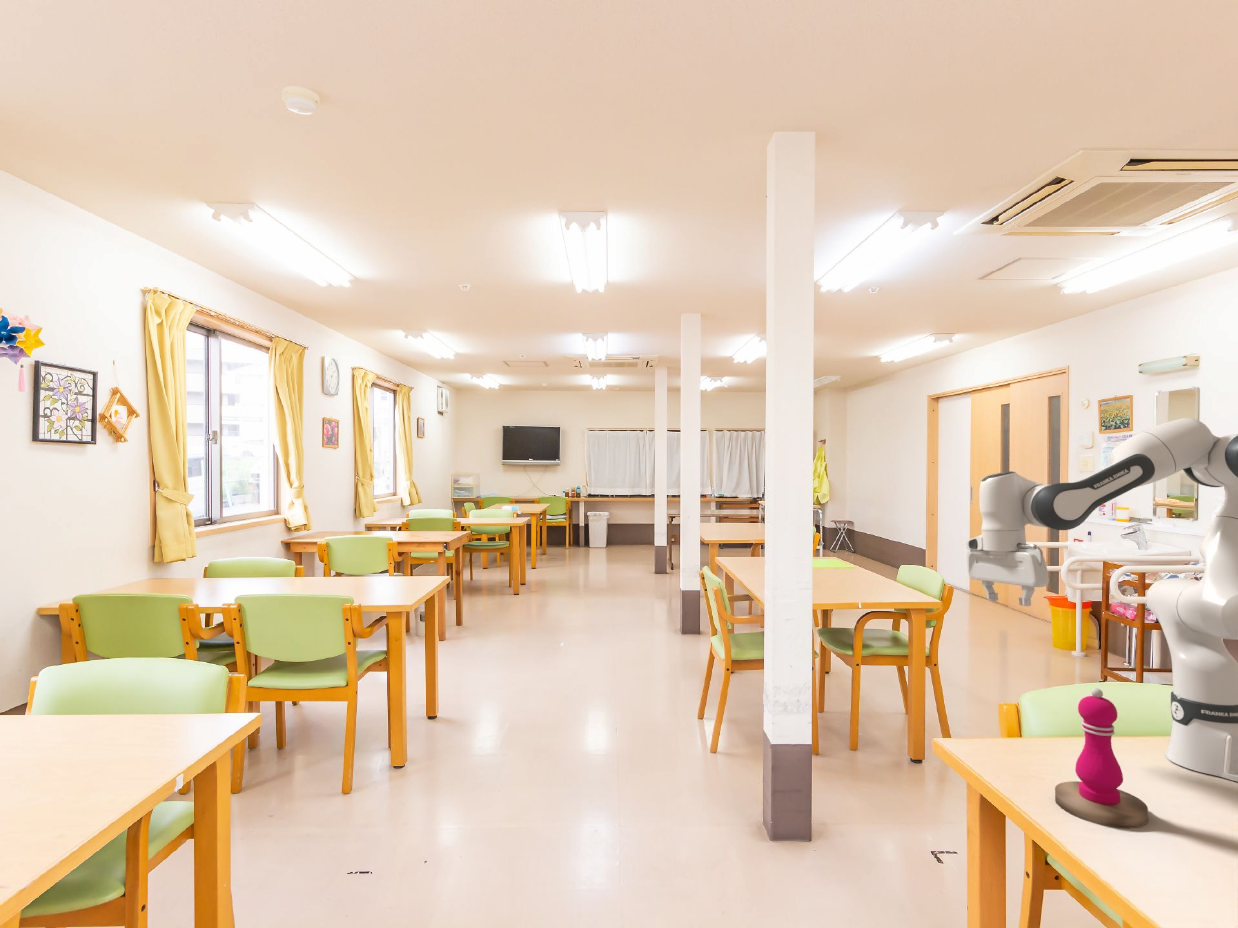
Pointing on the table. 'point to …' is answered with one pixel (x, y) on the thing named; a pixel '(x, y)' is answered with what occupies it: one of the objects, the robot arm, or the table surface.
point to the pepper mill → (1098, 751)
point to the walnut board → (1102, 807)
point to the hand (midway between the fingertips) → (1008, 603)
